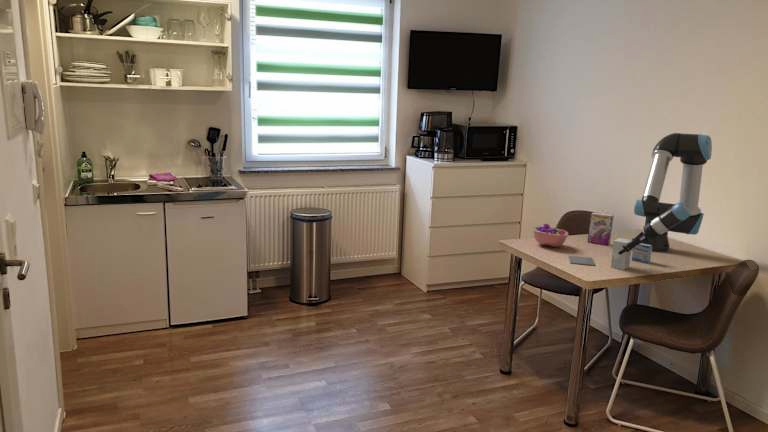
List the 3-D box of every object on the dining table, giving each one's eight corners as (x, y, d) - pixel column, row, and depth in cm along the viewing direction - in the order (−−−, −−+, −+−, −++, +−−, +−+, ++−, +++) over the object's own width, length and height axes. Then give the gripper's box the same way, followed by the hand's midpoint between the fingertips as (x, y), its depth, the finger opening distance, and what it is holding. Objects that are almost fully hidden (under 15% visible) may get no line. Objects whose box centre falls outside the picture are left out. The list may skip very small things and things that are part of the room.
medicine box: (631, 260, 281) (633, 243, 279) (633, 258, 284) (635, 241, 283) (648, 263, 276) (650, 246, 274) (650, 261, 280) (652, 244, 278)
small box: (615, 263, 274) (619, 237, 271) (629, 266, 270) (633, 240, 267) (610, 267, 268) (613, 240, 265) (623, 270, 264) (627, 243, 261)
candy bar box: (587, 242, 313) (590, 213, 310) (589, 240, 317) (592, 212, 314) (608, 246, 307) (612, 216, 304) (610, 244, 312) (613, 214, 308)
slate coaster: (591, 258, 281) (591, 257, 281) (594, 265, 269) (594, 264, 269) (568, 256, 284) (568, 255, 283) (570, 263, 271) (570, 262, 271)
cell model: (552, 252, 290) (554, 230, 288) (524, 242, 307) (525, 222, 305) (574, 248, 299) (577, 227, 297) (546, 239, 316) (548, 220, 313)
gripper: (657, 240, 246) (616, 266, 257) (665, 230, 267) (627, 255, 278) (645, 226, 248) (605, 253, 259) (654, 217, 268) (617, 242, 279)
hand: (616, 254), depth 268 cm, fingers open, 13 cm apart
